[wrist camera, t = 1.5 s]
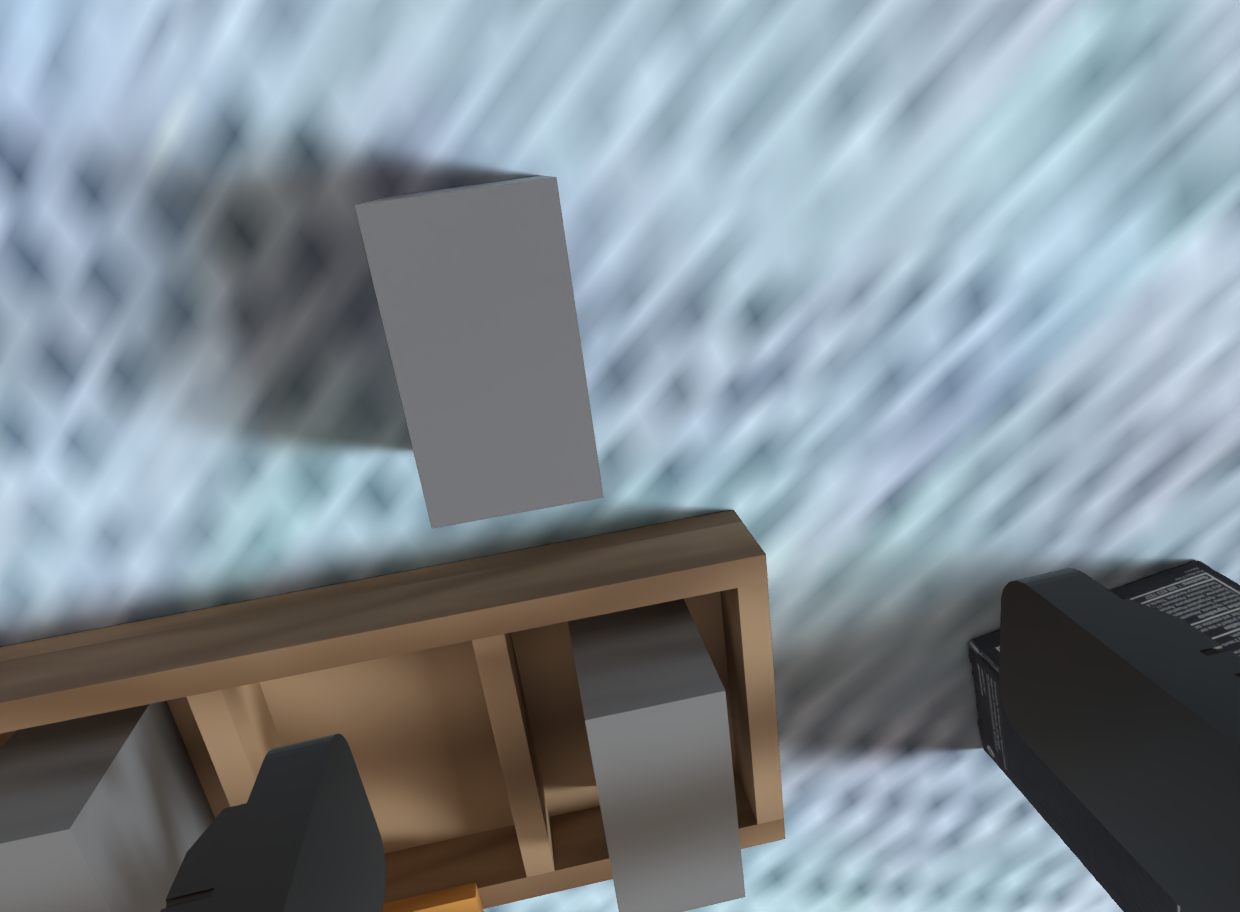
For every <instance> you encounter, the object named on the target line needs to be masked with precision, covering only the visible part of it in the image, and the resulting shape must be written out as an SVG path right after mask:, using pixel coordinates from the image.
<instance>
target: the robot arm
mask: <svg viewBox="0 0 1240 912" xmlns="http://www.w3.org/2000/svg"><path fill="white" fill-rule="evenodd" d="M999 690H1000V696H1001V700H1002V704H1003V707H1004V710H1005V712H1006V714H1007V717H1008V719H1009V721H1010V723H1011V724H1012V726H1013V728H1014V729H1015V731H1016V732H1017V733H1018V735H1019V736H1020V737H1021V738H1022V740H1023V741H1024V742H1025V743H1026V744H1027V745H1028V746H1029V747H1030V748H1031V749H1032V750H1033V751H1034V752H1035V753H1036V754H1037V756H1038V757H1039V758H1040V759H1041V760H1042V761H1043V762H1044V763H1045V764H1046V765H1047V766H1048V767H1049V768H1050V769H1051V770H1052V771H1053V772H1054V774H1055V775H1056V776H1057V777H1058V778H1059V779H1060V780H1061V781H1062V782H1063V783H1064V784H1065V785H1066V786H1067V787H1068V788H1069V789H1070V791H1071V792H1072V793H1073V794H1074V795H1075V796H1076V797H1077V798H1078V799H1079V800H1080V801H1081V802H1082V803H1083V804H1084V805H1085V806H1086V808H1087V809H1088V810H1089V811H1090V812H1091V813H1092V814H1093V815H1094V816H1095V817H1096V818H1097V819H1098V820H1099V821H1100V822H1101V823H1102V825H1103V826H1104V827H1105V828H1106V829H1107V830H1108V831H1109V832H1110V833H1111V834H1112V835H1113V836H1114V837H1115V838H1116V839H1117V840H1118V841H1119V843H1120V844H1121V845H1122V846H1123V847H1124V848H1125V849H1126V850H1127V851H1128V852H1129V853H1130V854H1131V855H1132V856H1133V857H1134V858H1135V860H1136V861H1137V862H1138V863H1139V864H1140V865H1141V866H1142V867H1143V868H1144V869H1145V870H1146V871H1147V872H1148V873H1149V874H1150V875H1151V877H1152V878H1153V879H1154V880H1155V881H1156V882H1157V883H1158V884H1159V885H1160V886H1161V887H1162V888H1163V889H1164V890H1165V891H1166V892H1167V894H1168V895H1169V896H1170V897H1171V898H1172V899H1173V900H1174V901H1175V902H1176V903H1177V904H1178V905H1179V906H1180V907H1181V908H1182V909H1183V911H1184V912H1240V656H1238V655H1237V654H1235V653H1234V652H1232V651H1228V652H1225V651H1224V649H1223V647H1222V645H1221V644H1220V643H1218V642H1217V641H1215V640H1213V639H1212V638H1210V637H1209V636H1207V635H1206V634H1204V633H1203V632H1201V631H1199V630H1198V629H1196V628H1195V627H1193V626H1192V625H1190V624H1189V623H1187V622H1185V621H1184V620H1182V619H1181V618H1179V617H1176V616H1173V615H1171V614H1168V613H1165V612H1163V611H1160V610H1157V609H1155V608H1152V607H1149V606H1147V605H1144V604H1141V603H1139V602H1136V601H1133V600H1131V599H1125V600H1123V599H1121V598H1120V597H1118V596H1117V595H1115V594H1114V593H1112V592H1111V591H1109V590H1108V589H1106V588H1105V587H1103V586H1102V585H1100V584H1099V583H1098V582H1096V581H1095V580H1093V579H1092V578H1090V577H1089V576H1087V575H1086V574H1084V573H1082V572H1081V571H1079V570H1076V569H1064V570H1059V571H1055V572H1050V573H1046V574H1042V575H1037V576H1033V577H1029V578H1024V579H1020V580H1016V581H1011V582H1009V583H1008V584H1007V585H1006V586H1005V588H1004V590H1003V593H1002V598H1001V625H1000V662H999ZM385 889H386V866H385V856H384V849H383V843H382V839H381V835H380V832H379V828H378V826H377V823H376V820H375V817H374V814H373V811H372V809H371V806H370V803H369V800H368V797H367V794H366V792H365V789H364V786H363V783H362V780H361V778H360V775H359V772H358V769H357V766H356V763H355V761H354V758H353V755H352V752H351V749H350V747H349V744H348V742H347V741H346V739H345V738H344V736H342V735H341V734H334V735H330V736H325V737H321V738H317V739H312V740H308V741H304V742H299V743H295V744H290V745H286V746H282V747H277V748H273V749H271V750H270V751H268V753H267V754H266V756H265V758H264V760H263V762H262V765H261V768H260V770H259V773H258V775H257V778H256V781H255V783H254V786H253V788H252V791H251V794H250V796H249V799H248V801H247V803H246V804H241V805H237V806H233V807H229V808H224V809H223V810H222V811H221V813H220V814H219V815H218V816H217V817H216V818H215V820H214V821H213V822H212V823H211V824H210V825H209V827H208V828H207V829H206V830H205V831H204V832H203V834H202V835H201V836H200V837H199V838H198V840H197V841H196V842H195V843H194V844H193V845H192V847H191V848H190V849H189V850H188V851H187V853H186V855H185V857H184V859H183V862H182V864H181V866H180V868H179V871H178V873H177V875H176V877H175V880H174V882H173V884H172V886H171V888H170V891H169V893H168V895H167V897H166V908H164V909H161V911H160V912H382V911H383V905H384V898H385Z"/></svg>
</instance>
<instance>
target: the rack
mask: <svg viewBox="0 0 1240 912" xmlns="http://www.w3.org/2000/svg"><path fill="white" fill-rule="evenodd" d="M334 734H341V735H342V736H344V738H345V739H346V741H347V742H348V744H349V747H350V749H351V752H352V755H353V758H354V761H355V763H356V766H357V769H358V772H359V775H360V778H361V780H362V783H363V786H364V789H365V792H366V794H367V797H368V800H369V803H370V806H371V809H372V811H373V814H374V817H375V820H376V823H377V826H378V828H379V832H380V835H381V839H382V843H383V849H384V856H385V866H386V889H385V898H384V905H383V911H382V912H484V911H483V909H485V908H489V907H494V906H498V905H502V904H507V903H511V902H515V901H519V900H524V899H528V898H532V897H537V896H541V895H545V894H550V893H554V892H558V891H563V890H567V889H571V888H575V887H580V886H584V885H588V884H593V883H597V882H601V881H606V880H610V879H613V881H614V886H615V892H616V897H617V903H618V909H619V912H684V911H688V910H692V909H696V908H700V907H705V906H709V905H713V904H717V903H721V902H726V901H730V900H734V899H738V898H742V897H745V889H744V879H743V869H742V858H741V849H743V848H748V847H752V846H756V845H760V844H765V843H769V842H773V841H778V840H782V839H785V829H784V814H783V800H782V785H781V770H780V756H779V741H778V726H777V712H776V697H775V682H774V668H773V653H772V638H771V624H770V609H769V594H768V580H767V565H766V554H765V553H764V551H763V550H762V549H761V547H760V546H759V544H758V543H757V542H756V540H755V539H754V537H753V536H752V535H751V533H750V532H749V531H748V529H747V528H746V526H745V525H744V524H743V522H742V521H741V519H740V518H739V517H738V515H737V514H736V512H735V511H734V510H730V511H725V512H720V513H714V514H709V515H704V516H698V517H693V518H688V519H682V520H677V521H671V522H666V523H661V524H655V525H650V526H645V527H639V528H634V529H629V530H623V531H618V532H613V533H607V534H602V535H597V536H591V537H586V538H581V539H575V540H570V541H565V542H559V543H554V544H548V545H543V546H538V547H532V548H527V549H522V550H516V551H511V552H506V553H500V554H495V555H490V556H484V557H479V558H474V559H468V560H463V561H458V562H452V563H447V564H441V565H436V566H431V567H425V568H420V569H415V570H409V571H404V572H399V573H393V574H388V575H383V576H377V577H372V578H367V579H361V580H356V581H351V582H345V583H340V584H335V585H329V586H324V587H318V588H313V589H308V590H302V591H297V592H292V593H286V594H281V595H276V596H270V597H265V598H260V599H254V600H249V601H244V602H238V603H233V604H228V605H222V606H217V607H212V608H206V609H201V610H195V611H190V612H185V613H179V614H174V615H169V616H163V617H158V618H153V619H147V620H142V621H137V622H131V623H126V624H121V625H115V626H110V627H105V628H99V629H94V630H89V631H83V632H78V633H72V634H67V635H62V636H56V637H51V638H46V639H40V640H35V641H30V642H24V643H19V644H14V645H8V646H3V647H0V912H160V911H161V909H164V908H166V897H167V895H168V893H169V891H170V888H171V886H172V884H173V882H174V880H175V877H176V875H177V873H178V871H179V868H180V866H181V864H182V862H183V859H184V857H185V855H186V853H187V851H188V850H189V849H190V848H191V847H192V845H193V844H194V843H195V842H196V841H197V840H198V838H199V837H200V836H201V835H202V834H203V832H204V831H205V830H206V829H207V828H208V827H209V825H210V824H211V823H212V822H213V821H214V820H215V818H216V817H217V816H218V815H219V814H220V813H221V811H222V810H223V809H224V808H229V807H233V806H237V805H241V804H246V803H247V801H248V799H249V796H250V794H251V791H252V788H253V786H254V783H255V781H256V778H257V775H258V773H259V770H260V768H261V765H262V762H263V760H264V758H265V756H266V754H267V753H268V751H270V750H271V749H273V748H277V747H282V746H286V745H290V744H295V743H299V742H304V741H308V740H312V739H317V738H321V737H325V736H330V735H334Z"/></svg>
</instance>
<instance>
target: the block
mask: <svg viewBox="0 0 1240 912" xmlns="http://www.w3.org/2000/svg"><path fill="white" fill-rule="evenodd" d="M355 209H356V214H357V218H358V222H359V226H360V230H361V235H362V239H363V243H364V247H365V251H366V255H367V260H368V264H369V268H370V272H371V276H372V281H373V285H374V289H375V293H376V297H377V301H378V306H379V310H380V314H381V318H382V322H383V327H384V331H385V335H386V339H387V343H388V347H389V352H390V356H391V360H392V364H393V368H394V373H395V377H396V381H397V385H398V389H399V393H400V398H401V402H402V406H403V410H404V414H405V419H406V423H407V427H408V431H409V435H410V439H411V444H412V448H413V452H414V456H415V460H416V465H417V469H418V473H419V477H420V481H421V485H422V490H423V494H424V498H425V502H426V506H427V511H428V515H429V519H430V523H431V527H432V528H438V527H443V526H449V525H454V524H460V523H465V522H471V521H476V520H482V519H487V518H493V517H498V516H504V515H509V514H515V513H520V512H526V511H531V510H537V509H542V508H548V507H553V506H559V505H564V504H570V503H575V502H581V501H586V500H592V499H597V498H603V491H602V484H601V477H600V470H599V463H598V457H597V450H596V443H595V436H594V430H593V423H592V416H591V409H590V402H589V396H588V389H587V382H586V375H585V369H584V362H583V355H582V348H581V341H580V335H579V328H578V321H577V314H576V308H575V301H574V294H573V287H572V280H571V274H570V267H569V260H568V253H567V247H566V240H565V233H564V226H563V219H562V213H561V206H560V199H559V192H558V186H557V179H556V177H549V176H534V177H526V178H519V179H512V180H505V181H497V182H490V183H483V184H475V185H468V186H461V187H454V188H446V189H439V190H432V191H425V192H417V193H410V194H403V195H396V196H388V197H384V198H380V199H376V200H372V201H368V202H365V203H361V204H357V205H355Z"/></svg>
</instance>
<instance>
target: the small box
mask: <svg viewBox="0 0 1240 912" xmlns="http://www.w3.org/2000/svg"><path fill="white" fill-rule="evenodd" d="M1111 592H1112V593H1114V594H1115V595H1117V596H1118V597H1120V598H1121V599H1123V600H1125V599H1131V600H1133V601H1136V602H1139V603H1141V604H1144V605H1147V606H1149V607H1152V608H1155V609H1157V610H1160V611H1163V612H1165V613H1168V614H1171V615H1173V616H1176V617H1179V618H1181V619H1182V620H1184V621H1185V622H1187V623H1189V624H1190V625H1192V626H1193V627H1195V628H1196V629H1198V630H1199V631H1201V632H1203V633H1204V634H1206V635H1207V636H1209V637H1210V638H1212V639H1213V640H1215V641H1217V642H1218V643H1220V644H1221V645H1222V647H1223V649H1224V651H1225V652H1228V651H1232V652H1234V653H1235V654H1237V655H1238V656H1240V585H1239V584H1237V583H1236V582H1234V581H1232V580H1230V579H1229V578H1227V577H1226V576H1224V575H1222V574H1220V573H1218V572H1217V571H1215V570H1213V569H1211V568H1210V567H1209V566H1207V565H1206V564H1204V563H1202V562H1201V561H1193V562H1191V563H1188V564H1185V565H1182V566H1179V567H1176V568H1173V569H1170V570H1167V571H1165V572H1162V573H1159V574H1156V575H1153V576H1151V577H1148V578H1145V579H1142V580H1139V581H1137V582H1134V583H1131V584H1128V585H1125V586H1123V587H1120V588H1117V589H1114V590H1111ZM969 658H970V662H971V663H972V668H973V671H972V675H973V676H974V684H975V692H976V698H977V708H978V715H979V720H978V725H979V730H980V735H981V739H982V742H983V748H984V750H985V752H986V753H987V754H988V755H989V756H990V757H991V758H992V759H993V760H994V761H995V762H996V764H997V765H998V766H999V767H1000V769H1001V770H1002V771H1003V772H1004V773H1005V774H1006V775H1007V777H1008V778H1009V779H1010V780H1011V781H1012V782H1013V783H1014V784H1015V786H1016V787H1017V788H1018V789H1019V790H1020V791H1021V792H1022V794H1023V795H1024V796H1025V797H1026V798H1027V799H1028V801H1029V802H1030V803H1031V804H1032V805H1033V806H1034V808H1035V809H1036V810H1037V811H1038V813H1039V814H1040V815H1041V816H1042V817H1043V818H1044V820H1045V821H1046V822H1047V823H1048V824H1049V825H1050V826H1051V827H1052V829H1053V830H1054V831H1055V832H1056V833H1057V834H1058V835H1059V836H1060V838H1061V839H1062V840H1063V841H1064V843H1065V844H1066V845H1067V846H1068V847H1069V848H1070V850H1071V851H1072V852H1073V853H1074V854H1075V855H1076V856H1077V857H1078V858H1079V860H1080V861H1081V862H1082V863H1083V865H1084V866H1085V867H1086V868H1087V869H1088V871H1089V872H1090V873H1091V874H1092V875H1093V876H1094V877H1095V879H1096V880H1097V881H1098V882H1099V883H1100V884H1101V885H1102V887H1103V888H1104V889H1105V890H1106V891H1107V892H1108V894H1109V895H1110V896H1111V898H1112V899H1113V900H1114V901H1115V902H1116V903H1117V905H1118V906H1119V907H1120V908H1121V909H1122V910H1123V911H1124V912H1184V911H1183V909H1182V908H1181V907H1180V906H1179V905H1178V904H1177V903H1176V902H1175V901H1174V900H1173V899H1172V898H1171V897H1170V896H1169V895H1168V894H1167V892H1166V891H1165V890H1164V889H1163V888H1162V887H1161V886H1160V885H1159V884H1158V883H1157V882H1156V881H1155V880H1154V879H1153V878H1152V877H1151V875H1150V874H1149V873H1148V872H1147V871H1146V870H1145V869H1144V868H1143V867H1142V866H1141V865H1140V864H1139V863H1138V862H1137V861H1136V860H1135V858H1134V857H1133V856H1132V855H1131V854H1130V853H1129V852H1128V851H1127V850H1126V849H1125V848H1124V847H1123V846H1122V845H1121V844H1120V843H1119V841H1118V840H1117V839H1116V838H1115V837H1114V836H1113V835H1112V834H1111V833H1110V832H1109V831H1108V830H1107V829H1106V828H1105V827H1104V826H1103V825H1102V823H1101V822H1100V821H1099V820H1098V819H1097V818H1096V817H1095V816H1094V815H1093V814H1092V813H1091V812H1090V811H1089V810H1088V809H1087V808H1086V806H1085V805H1084V804H1083V803H1082V802H1081V801H1080V800H1079V799H1078V798H1077V797H1076V796H1075V795H1074V794H1073V793H1072V792H1071V791H1070V789H1069V788H1068V787H1067V786H1066V785H1065V784H1064V783H1063V782H1062V781H1061V780H1060V779H1059V778H1058V777H1057V776H1056V775H1055V774H1054V772H1053V771H1052V770H1051V769H1050V768H1049V767H1048V766H1047V765H1046V764H1045V763H1044V762H1043V761H1042V760H1041V759H1040V758H1039V757H1038V756H1037V754H1036V753H1035V752H1034V751H1033V750H1032V749H1031V748H1030V747H1029V746H1028V745H1027V744H1026V743H1025V742H1024V741H1023V740H1022V738H1021V737H1020V736H1019V735H1018V733H1017V732H1016V731H1015V729H1014V728H1013V726H1012V724H1011V723H1010V721H1009V719H1008V717H1007V714H1006V712H1005V710H1004V707H1003V704H1002V700H1001V696H1000V690H999V662H1000V630H999V631H996V632H993V633H990V634H987V635H985V636H982V637H979V638H976V639H973V640H971V643H970V645H969Z"/></svg>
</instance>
